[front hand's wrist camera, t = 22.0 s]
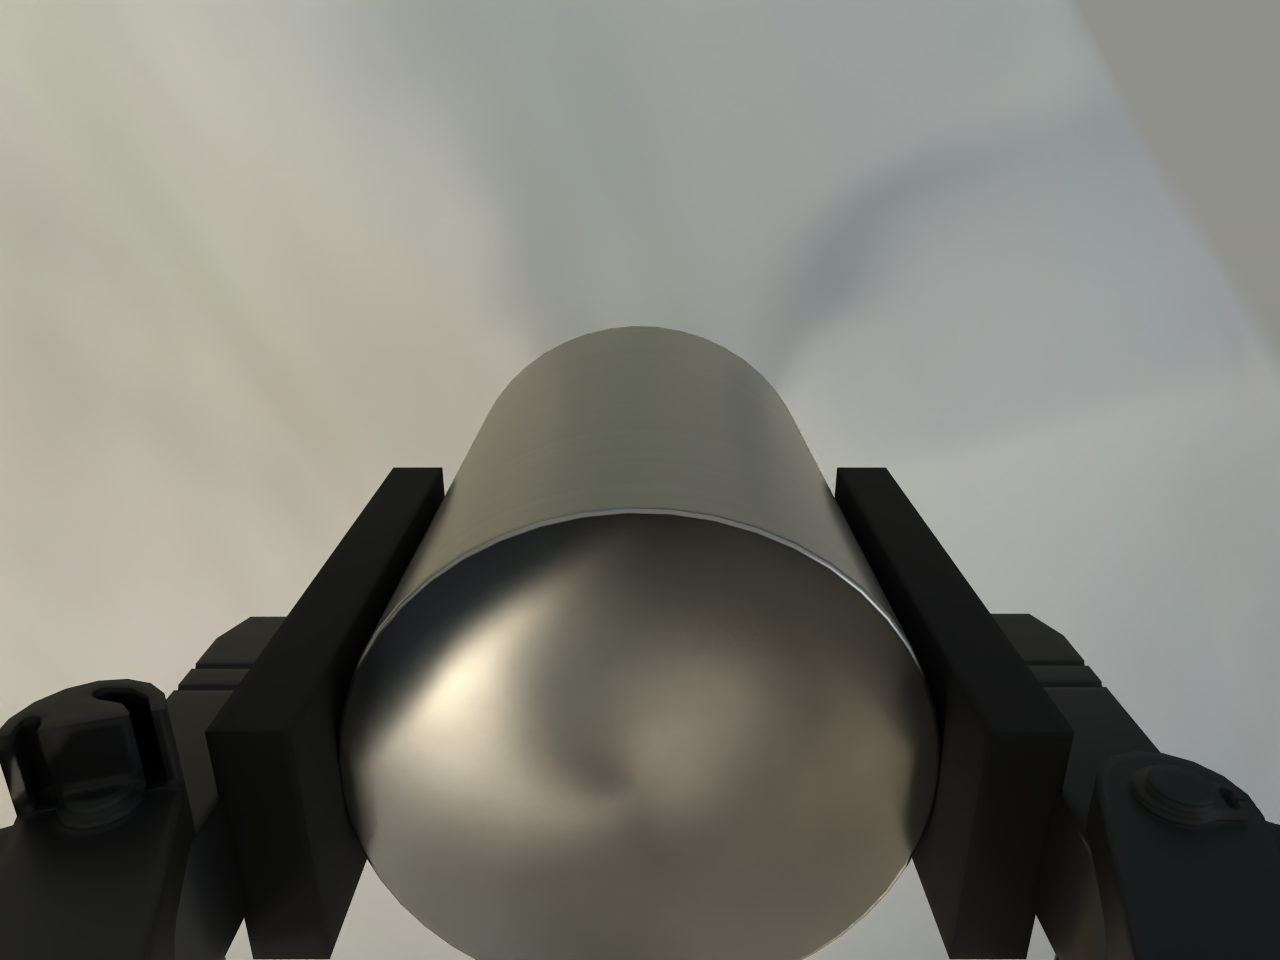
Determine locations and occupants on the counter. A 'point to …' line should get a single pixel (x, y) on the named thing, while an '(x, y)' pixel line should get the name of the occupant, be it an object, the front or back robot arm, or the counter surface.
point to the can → (639, 679)
